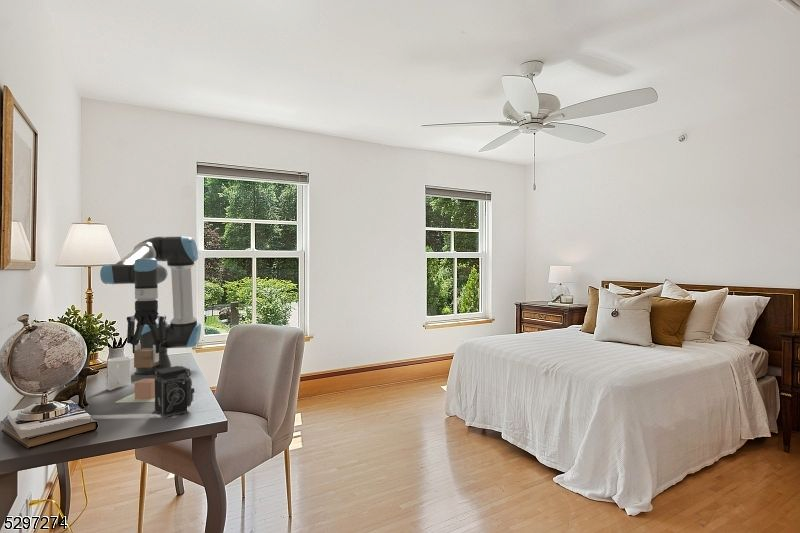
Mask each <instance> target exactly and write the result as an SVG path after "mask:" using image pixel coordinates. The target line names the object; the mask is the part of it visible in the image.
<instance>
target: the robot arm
mask: <svg viewBox="0 0 800 533" xmlns="http://www.w3.org/2000/svg"><path fill="white" fill-rule="evenodd" d="M198 255H199V252H198V246H197V243H196V241H195V239H194V238H193V237H191V236H183V235H182V236H181V235H180V236H155V237H151V238H148V239H144V240H142V241H141V242H139V243H137V244H136V245H135V246H134V248H133V249H132V251H131V252H129V253H128V254H127V255H126V256H124V257H123V258H122V259H120V260H119V261H117V262H116V263H115V264H111V263H110V264H104V265H102V266H101V268H100V272H99V276H100V280H101V282H102V283H103V284H105V285H107V284H108V285H128V284H129V285H133V284H134V299H135V301H134V311H135V312H134V315H130V316H127V317H126V321H127V330H126V331H127V332H126V334H127V335H126V343H127V344H130V345H132V353H133V354H134V351H136V350H140V349H143V348H153V363H155V362H158V361H159V364H158V365H156V366H153V367H146V368H135V373H136V374H138V375H154V374H155V370H158V369H164V368H169V367H172V362H171V361H170V360H171V359H170V357H169V354H168V349H179V348H181V349H183V348H186V349H188V348H194V347H196V346H197V345H198V344H199V341H200V337H201V331H202V324H201V323H200V322H198V319H197V318H196V317H195V316H194V310H193V309H194V306H193V303H194V302H193V286H192V282H193V281H192V280H193V279H192V268H193V267H194V265H195V262H196V261H198V258H199V257H198ZM158 262H166V263H167V267H168V268H170V270H171V272H170V274H171V289H172V290H171V291H172V293H171V294H172V308H173V309H172V311H173V312H172V313H173V318H172V319H171V320H170V323H169V324H168V321H167V316H166V315H161V314H160V313H159V312H158V311H159V310H158V309H159V300H157V299H158V297H159V289H158V288H159V287H158V285H159V284H160V283H163V282H164V281H166V279H167V277H168V270H167V268H166V267H165V266H163V265H161V264H160V263H158ZM135 321H136V322H137V323H136V322H135ZM156 321H157V322H156ZM135 325H136V326H135Z"/></svg>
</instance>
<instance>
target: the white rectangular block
mask: <svg viewBox="0 0 800 533" xmlns="http://www.w3.org/2000/svg"><path fill="white" fill-rule="evenodd" d="M131 361H132V359H131V357H130V356H129V357H128V356H120V357H113V358H109V359H107V388H106V390H107V391H113V390H115V389H117V388H123V387H128V386H130V385H131V384H132V380H131V378H132V377H131V376H132V374H131V372H132V371H131V368H132V367H131V365H132V364H131Z"/></svg>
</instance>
